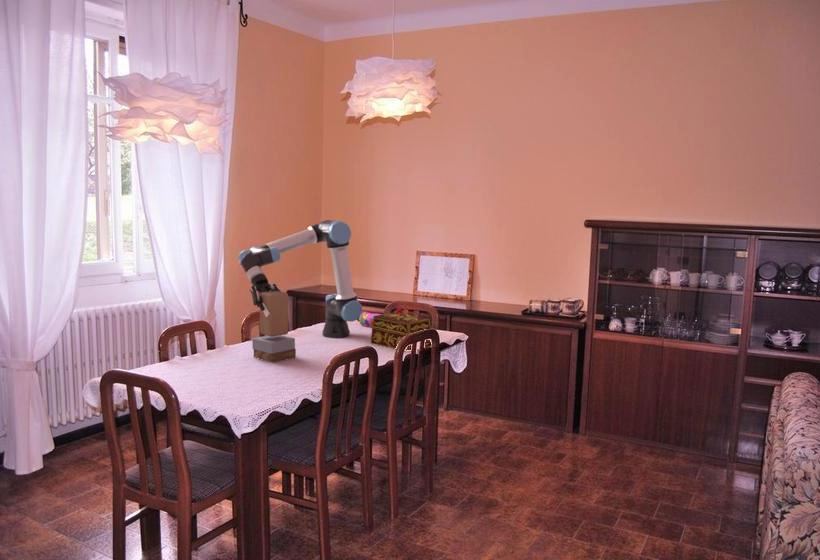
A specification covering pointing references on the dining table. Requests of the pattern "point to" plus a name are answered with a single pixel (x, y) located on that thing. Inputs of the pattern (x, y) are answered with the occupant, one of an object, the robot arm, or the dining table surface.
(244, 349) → the dining table surface
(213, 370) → the dining table surface
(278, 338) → the tower top block
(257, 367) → the dining table surface
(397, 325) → the decorative box
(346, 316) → the robot arm
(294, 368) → the dining table surface
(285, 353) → the tower base block
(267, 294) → the wooden block
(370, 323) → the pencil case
